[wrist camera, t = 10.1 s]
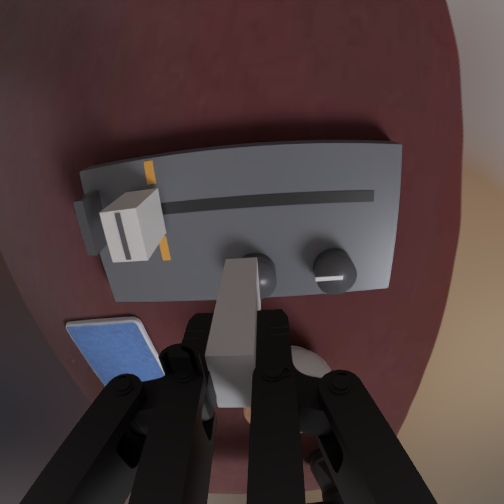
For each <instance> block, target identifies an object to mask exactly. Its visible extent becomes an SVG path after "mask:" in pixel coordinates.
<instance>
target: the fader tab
mask: <svg viewBox="0 0 504 504" xmlns="http://www.w3.org/2000/svg"><path fill="white" fill-rule="evenodd" d="M99 214H100V218H101V222H102V226H103V229H104V233H105V237H106V241H107V244H108V248H109V251H110V255H111V258H112V261H113V263H114V262H131V261H148V260H149V258H150V257H151V255H152V254H153V252H154V251H155V249H156V248H157V246H158V244H159V243H160V241H161V240H162V238H163V237H164V235H165V234H166V229H165V224H164V219H163V213H162V208H161V203H160V197H159V191H158V188H154V189H147V190H139V191H132V192H126V193H124V194H123V195H122V196H120V197H119V198H118V199H116V200H115V201H114V202H112V203H111V204H110V205H109V206H107V207H106V208H105V209H103V210H102V211H101V212H100V213H99Z"/></svg>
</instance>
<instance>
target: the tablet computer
mask: <svg viewBox="0 0 504 504" xmlns="http://www.w3.org/2000/svg"><path fill="white" fill-rule="evenodd" d="M66 330H67V331H68V333H69V334H70V336H71V338H72V339H73V341H74V342H75V344H76V345H77V347H78V348H79V350H80V351H81V353H82V354H83V356H84V357H85V359H86V360H87V362H88V363H89V365H90V366H91V368H92V369H93V371H94V372H95V373H96V375H97V376H98V377H99V379H100V380H101V381H102V383H103V384H104V386H106V385H107V384H108V382H109V381H110V380H112V379H113V378H114V377H116V376H118V375H120V374H126V373H128V374H134V375H136V376H138V377H139V378H140V380H141V381H142V382H143V381H148V380H153V379H157V378H161V377H163V376H165V373H164V371H163V368H162V366H161V363H160V360H159V358H158V356H159V355H158V353H157V351H156V349H155V348H154V346H153V344H152V342H151V340H150V338H149V336H148V334H147V332H146V330H145V328H144V326H143V324H142V322H141V320H140V319H139V318H137V317H133V316H131V317H116V318H103V319H91V320H79V321H69V322H67V323H66Z"/></svg>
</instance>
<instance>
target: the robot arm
mask: <svg viewBox="0 0 504 504" xmlns="http://www.w3.org/2000/svg"><path fill="white" fill-rule="evenodd" d="M158 358H159V360H160V363H161V366H162V368H163V371H164V373H165V376H163V377H161V378H157V379H153V380H148V381H143V382H142V381H141V380H140V378H139V377H138V376H136V375H134V374H128V373H126V374H120V375H118V376H116V377H114V378H113V379H112V380H110V381H109V382H108V384H107V385H106V386H105V388H104V389H103V390H102V391H101V393H100V394H99V395H98V397H97V398H96V399H95V401H94V402H93V403H92V405H91V406H90V407H89V409H88V410H87V411H86V412H85V414H84V415H83V417H82V418H81V419H80V421H79V422H78V423H77V424H76V426H75V427H74V429H73V430H72V431H71V433H70V434H69V435H68V437H67V438H66V439H65V441H64V442H63V444H62V445H61V446H60V447H59V449H58V450H57V451H56V453H55V454H54V456H53V457H52V458H51V460H50V461H49V463H48V464H47V465H46V467H45V468H44V470H43V471H42V472H41V474H40V475H39V476H38V478H37V479H36V481H35V482H34V484H33V485H32V486H31V488H30V489H29V491H28V492H27V494H26V495H25V496H24V498H23V499H22V501H21V502H20V504H124V503H125V501H126V499H127V497H128V496H129V494H130V492H131V495H130V499H129V503H128V504H207V499H208V490H209V481H210V473H211V464H212V456H213V448H214V440H215V432H216V423H217V416H216V412H215V406H216V401H217V405H218V407H251V417H250V440H249V462H248V484H247V504H305V488H304V473H303V459H302V446H301V434H300V432H303V433H309V434H314V436H315V439H316V441H317V443H318V445H319V448H320V449H319V450H318V451H316V452H315V453H314V454H313V455H312V456H311V457H310V468H311V471H312V473H313V475H314V477H315V479H316V481H317V483H318V485H319V487H320V489H321V491H322V498H323V502H316V503H307V504H437V502H436V500H435V499H434V497H433V495H432V494H431V492H430V490H429V489H428V487H427V485H426V484H425V482H424V481H423V479H422V477H421V476H420V474H419V472H418V471H417V470H416V467H415V466H414V464H413V462H412V461H411V459H410V458H409V456H408V454H407V453H406V451H405V450H404V448H403V446H402V445H401V443H400V442H399V440H398V438H397V437H396V435H395V434H394V432H393V430H392V429H391V427H390V426H389V424H388V422H387V421H386V419H385V418H384V416H383V415H382V413H381V411H380V410H379V408H378V407H377V405H376V403H375V402H374V400H373V399H372V397H371V396H370V394H369V393H368V391H367V389H366V388H365V386H364V385H363V383H362V382H361V380H360V379H359V378H358V377H357V376H356V375H355V374H354V373H352V372H349V371H346V370H334V371H331V372H328V373H326V374H325V375H324V376H323V377H322V378H318V377H312V376H308V375H305V374H303V373H301V372H300V371H299V370H297V369H296V367H295V366H294V364H293V361H292V351H291V342H290V332H289V323H288V316H287V315H286V314H285V313H284V311H283V310H282V309H276V310H261V301H260V288H259V276H258V263H257V257H253V258H236V259H226V261H225V265H224V270H223V274H222V278H221V283H220V287H219V292H218V296H217V301H216V306H215V310H214V313H198V314H195V315H194V316H193V317H192V318H191V319H190V320H189V321H188V325H187V328H186V332H185V334H184V339H183V341H182V343H180V344H174V345H171V346H169V347H167V348H165V349H164V350H163V351H162V352H161V353H160V355H159V356H158ZM131 490H132V491H131Z"/></svg>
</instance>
